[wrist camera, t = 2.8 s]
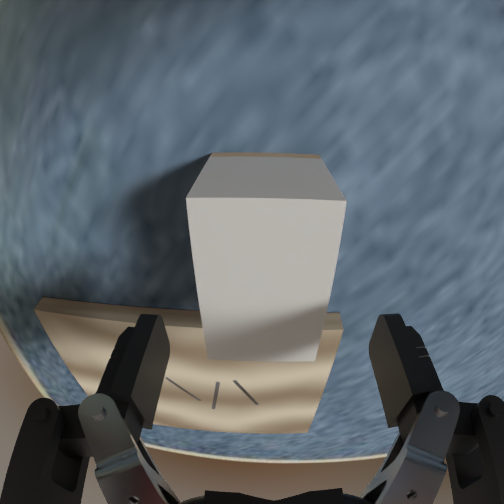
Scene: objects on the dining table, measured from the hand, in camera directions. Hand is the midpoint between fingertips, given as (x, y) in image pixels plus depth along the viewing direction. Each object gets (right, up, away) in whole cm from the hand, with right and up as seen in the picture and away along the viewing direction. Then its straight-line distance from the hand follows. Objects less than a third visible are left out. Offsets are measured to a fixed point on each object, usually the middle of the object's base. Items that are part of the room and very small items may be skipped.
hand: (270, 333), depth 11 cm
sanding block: (0, +4, +5) cm, 7 cm away
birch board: (-6, -7, +13) cm, 16 cm away
